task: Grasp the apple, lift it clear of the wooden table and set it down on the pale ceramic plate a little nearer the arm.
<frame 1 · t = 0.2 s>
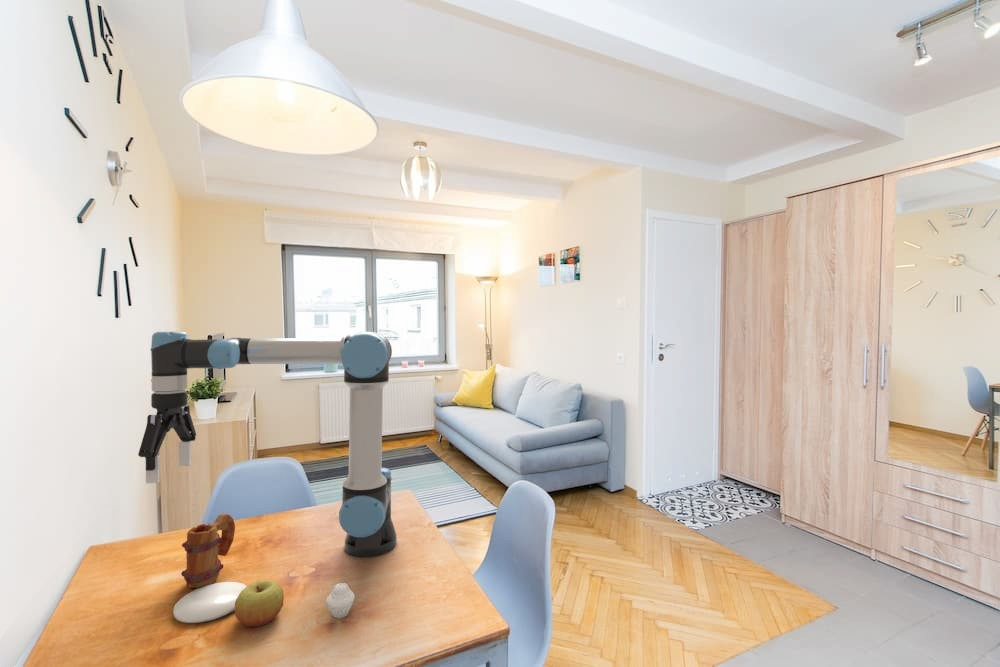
hand: (169, 473, 118), 28 cm above the table, fingers open, 13 cm apart
mug: (210, 578, 120), on the table
apple: (259, 620, 103), on the table
plate: (212, 604, 108), on the table
white rounded piece: (340, 614, 106), on the table
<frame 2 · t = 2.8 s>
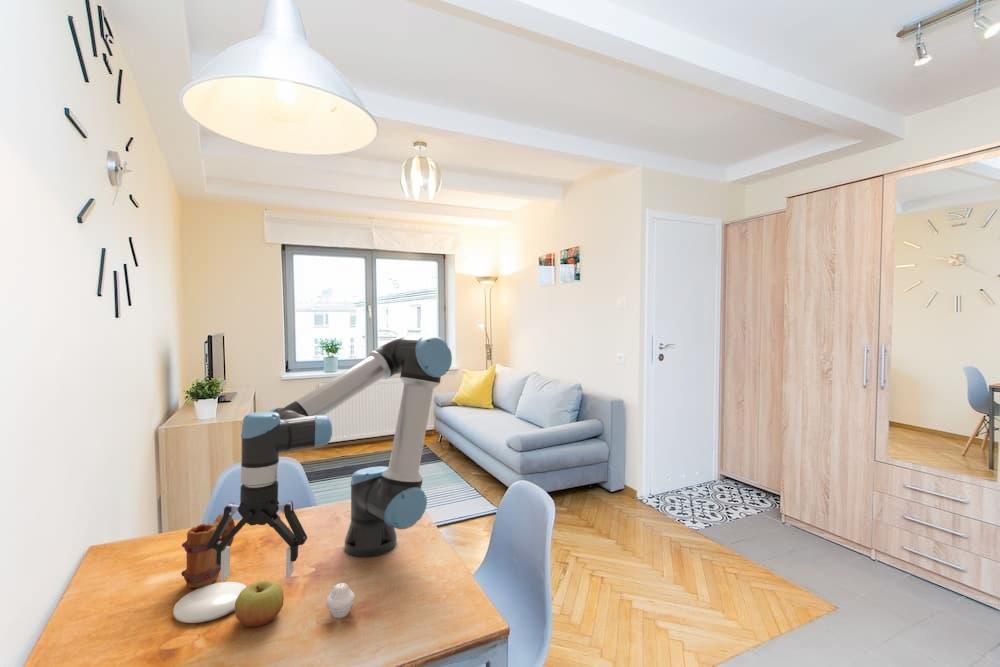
hand: (257, 576, 103), 10 cm above the table, fingers open, 13 cm apart
nothing on the table moved.
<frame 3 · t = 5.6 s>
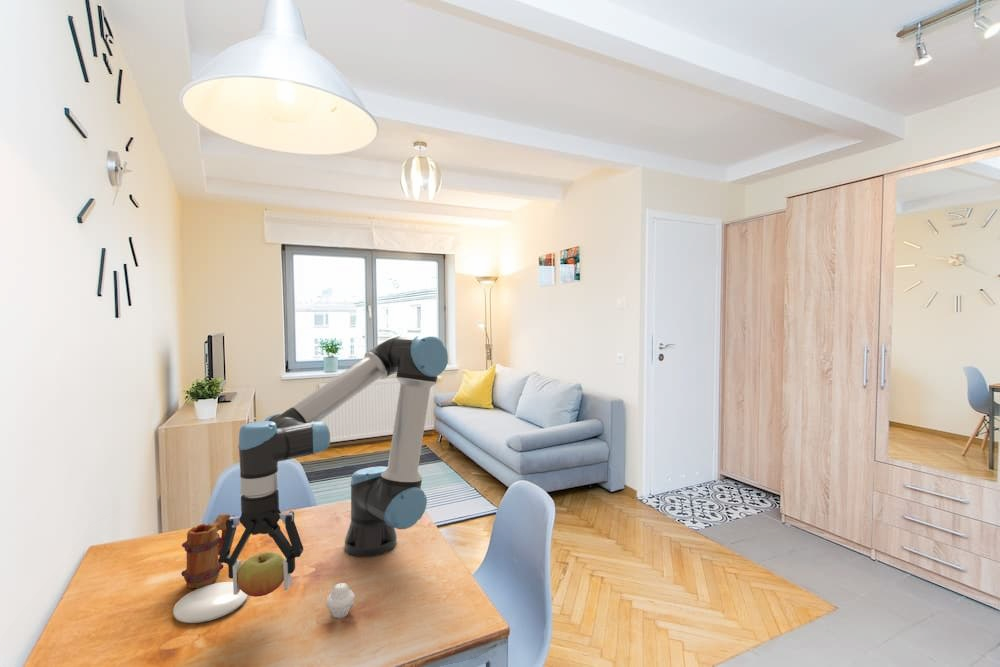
hand: (263, 588, 104), 7 cm above the table, fingers closed on apple, 10 cm apart
apple: (262, 590, 104), point 6 cm above the table, touching gripper
everything else where it was.
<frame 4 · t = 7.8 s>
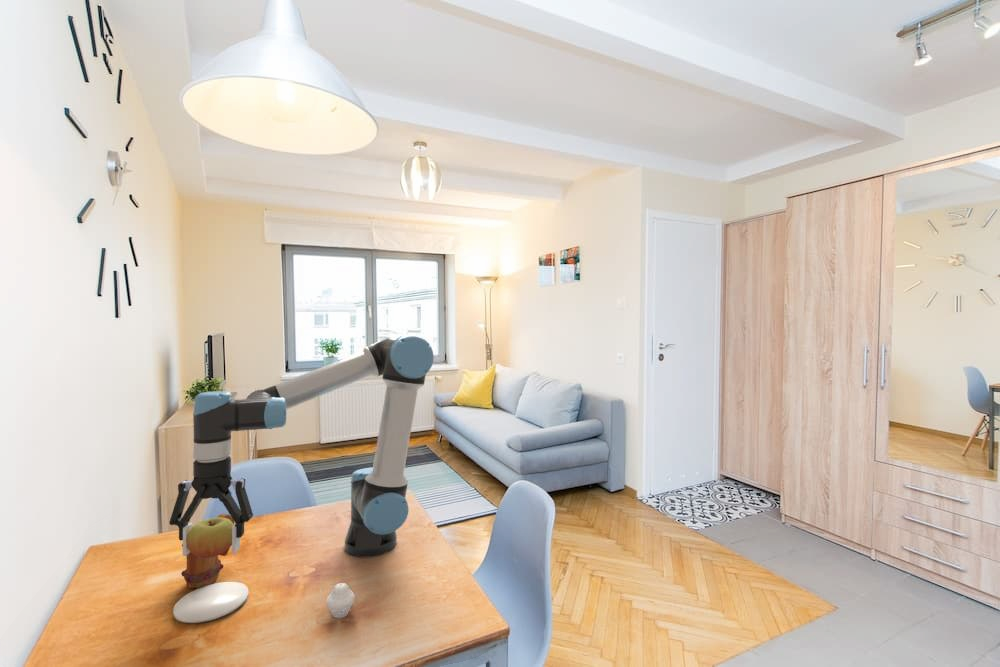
hand: (211, 551, 108), 13 cm above the table, fingers closed on apple, 10 cm apart
apple: (211, 553, 108), point 12 cm above the table, touching gripper
everything else where it was.
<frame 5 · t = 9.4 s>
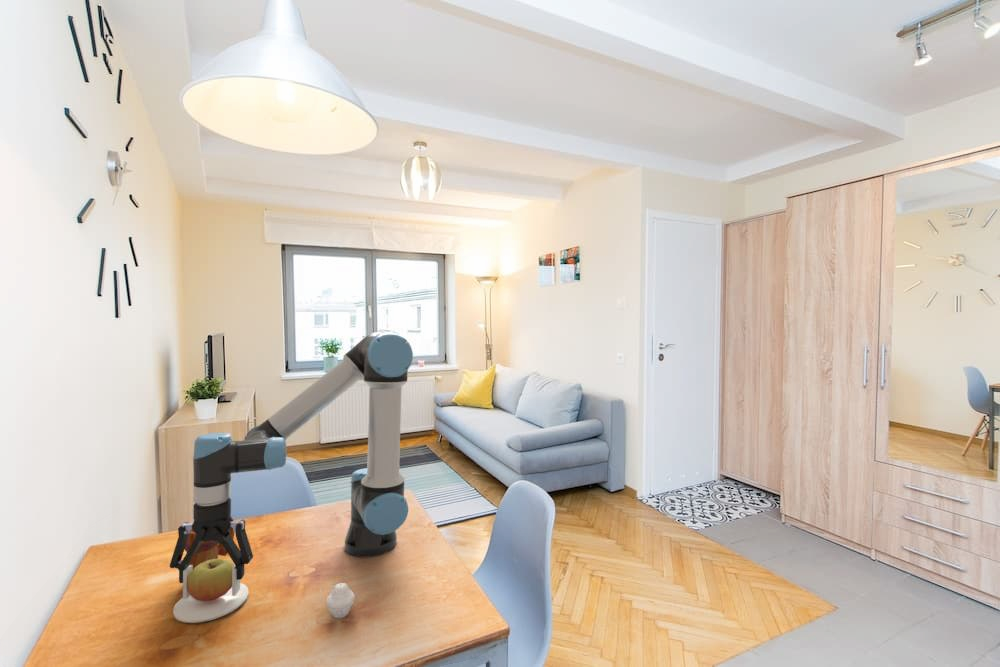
hand: (212, 593, 108), 3 cm above the table, fingers closed on apple, 10 cm apart
apple: (211, 595, 108), point 2 cm above the table, touching gripper
everything else where it was.
when the fingers open (2 cm above the table, at t = 10.5 s): apple stays where it is, resting on plate.
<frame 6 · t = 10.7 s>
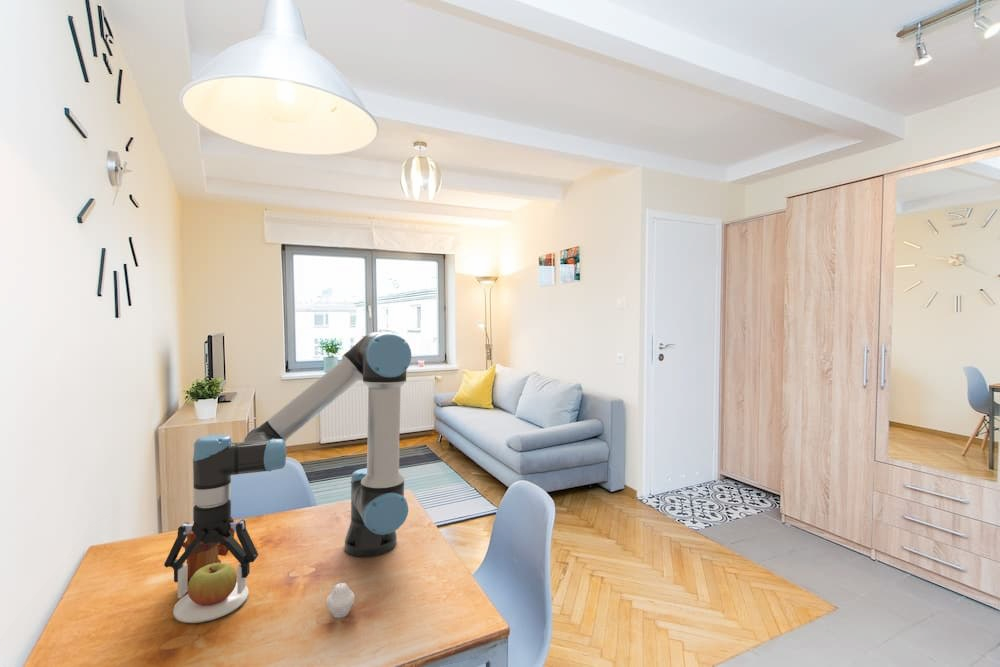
hand: (212, 592, 108), 3 cm above the table, fingers open, 12 cm apart
apple: (212, 600, 108), point 1 cm above the table, touching plate
everything else where it was.
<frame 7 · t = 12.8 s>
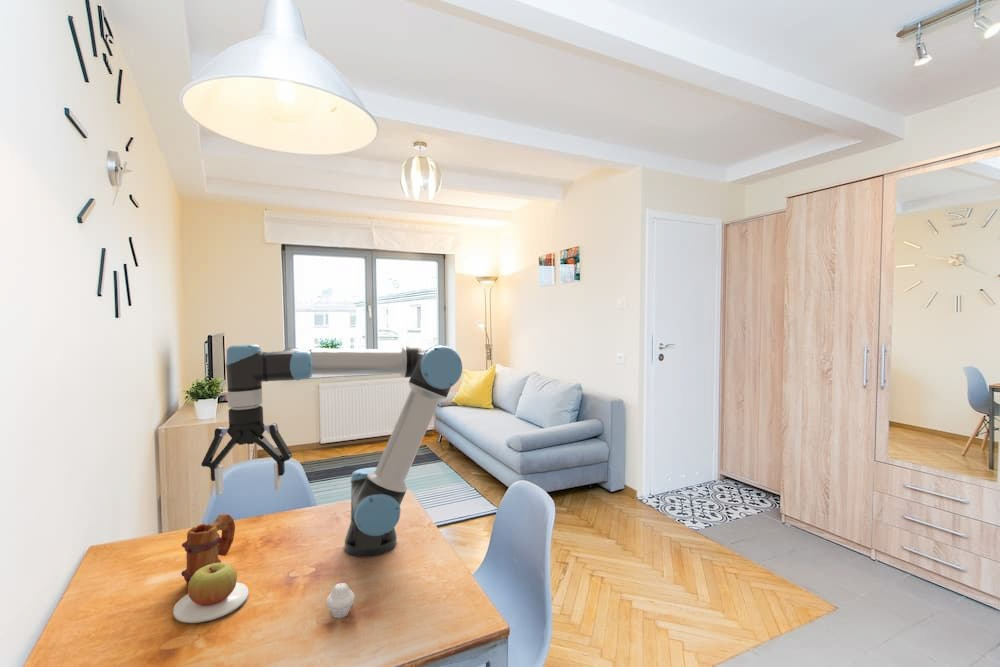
hand: (249, 490, 115), 25 cm above the table, fingers open, 13 cm apart
nothing on the table moved.
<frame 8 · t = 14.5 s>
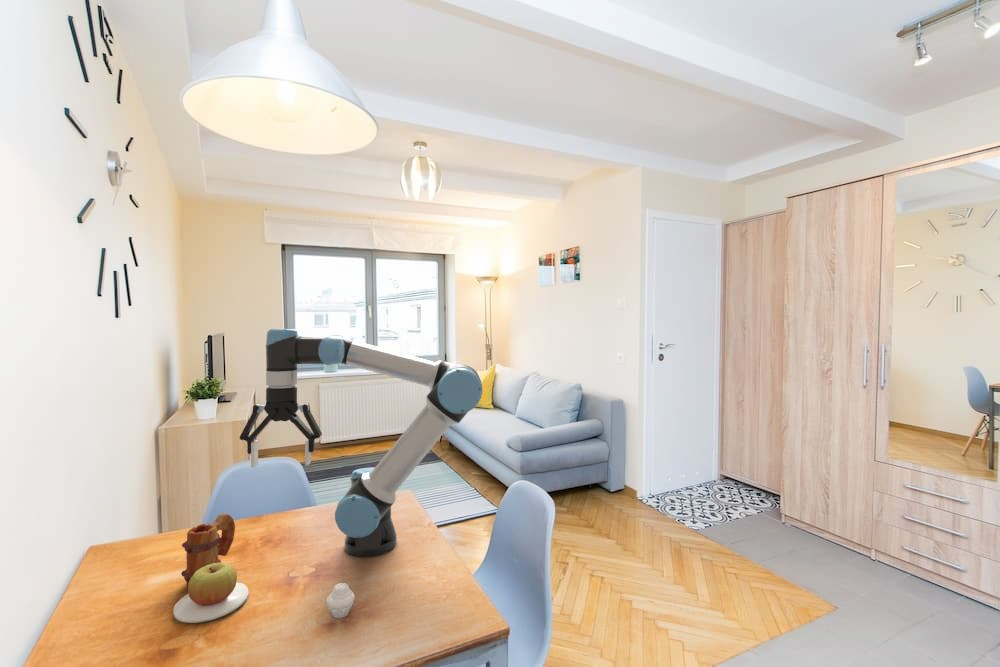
hand: (281, 464, 123), 29 cm above the table, fingers open, 13 cm apart
nothing on the table moved.
at the end: apple 0.1 cm from the plate (horizontally); apple touching plate; the gripper is holding nothing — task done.
